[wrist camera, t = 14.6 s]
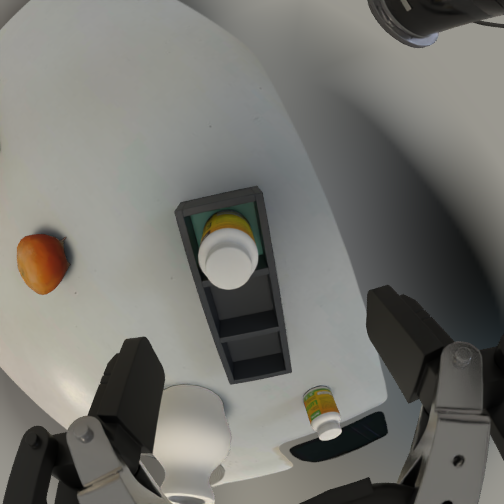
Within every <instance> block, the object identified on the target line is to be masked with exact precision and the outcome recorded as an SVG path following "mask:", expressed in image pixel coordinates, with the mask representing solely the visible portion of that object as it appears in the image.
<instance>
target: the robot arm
mask: <svg viewBox="0 0 504 504" xmlns="http://www.w3.org/2000/svg"><path fill="white" fill-rule="evenodd" d="M380 2H381V5H382V7H383V9H384V11H385V13H386V14H387V16H388V17H389V18H390V20H391V21H392V22H393V23H394V24H395V25H396V26H397V27H398V28H400V29H401V30H402V31H404V32H405V33H407V34H409V35H411V36H413V37H416V38H426V37H429V36H431V35H433V34H436V33H439V32H442V31H445V30H448V29H451V28H454V27H458V26H461V25H465V24H468V23H472V22H473V23H477V24H481V25H485V26H491V27H500V28H504V24H497V23H490V22H484V21H480V20H483V19H488V18H492V17H496V16H501V15H504V0H380ZM366 328H367V333H368V336H369V339H370V340H371V342H372V344H373V345H374V347H375V348H376V350H377V352H378V353H379V355H380V356H381V358H382V360H383V361H384V363H385V365H386V366H387V368H388V370H389V371H390V373H391V375H392V376H393V378H394V379H395V381H396V383H397V385H398V386H399V388H400V390H401V391H402V393H403V395H404V396H405V398H406V400H407V402H408V403H411V402H413V401H415V400H418V399H420V401H421V403H422V406H421V410H420V414H419V418H418V423H417V427H416V430H415V434H414V438H413V442H412V445H411V449H410V452H409V456H408V458H407V460H406V462H405V464H404V467H403V468H402V471H401V473H400V476H399V478H398V481H397V483H375V484H371V481H370V478H369V477H368V478H365V479H362V480H360V481H357V482H354V483H350V484H347V485H344V486H341V487H337V488H334V489H330V490H328V491H326V492H324V493H322V494H319V495H317V496H315V497H313V498H311V499H309V500H307V501H305V502H302V503H300V504H478V502H479V498H480V494H481V489H482V484H483V479H484V474H485V469H486V462H487V455H488V447H489V438H490V435H491V437H492V439H493V441H494V443H495V444H496V446H497V448H498V450H499V452H500V454H501V456H502V458H503V460H504V335H502V337H501V339H500V341H499V344H498V346H496V347H492V348H487V349H483V350H478V349H477V348H476V347H475V346H473V345H472V344H469V343H466V342H454V341H453V340H452V339H451V338H450V336H449V335H448V334H447V333H446V332H445V331H444V330H443V329H442V328H441V327H440V326H439V324H438V323H437V322H436V321H435V320H434V319H433V318H432V317H430V315H429V314H428V313H427V312H426V311H424V310H423V308H422V307H421V305H420V304H419V303H418V302H417V301H416V300H414V299H412V298H410V297H408V296H406V295H404V294H403V295H400V296H399V295H398V294H397V293H396V292H395V291H394V290H393V288H392V287H390V286H389V285H386V286H382V287H379V288H376V289H372V290H369V291H368V294H367V317H366ZM100 383H101V384H100V385H99V387H98V389H97V392H96V394H95V397H94V400H93V402H92V405H91V408H90V410H89V413H88V416H83V417H80V418H78V419H76V420H75V421H74V422H73V423H72V424H71V425H70V427H69V428H68V431H67V432H65V433H60V434H55V435H51V434H50V433H49V432H48V431H47V430H46V429H45V428H43V427H42V426H34V427H32V428H30V429H29V430H28V431H26V433H25V434H24V436H23V438H22V440H21V443H20V446H19V449H18V451H17V455H16V457H15V461H14V464H13V467H12V470H11V474H10V477H9V480H8V484H7V488H6V492H5V496H4V500H3V504H47V500H46V498H47V492H48V488H49V483H50V479H51V475H52V476H54V477H55V478H57V479H58V480H59V483H58V488H57V493H56V498H55V504H172V503H171V502H170V501H169V500H168V499H167V497H166V496H165V495H164V493H163V492H162V491H161V489H160V488H159V486H158V485H157V484H156V482H155V481H154V479H153V478H152V477H151V475H150V474H149V472H148V471H147V469H146V468H145V466H144V465H143V463H142V462H141V461H140V455H141V453H153V448H154V441H155V435H156V428H157V422H158V416H159V410H160V405H161V399H162V394H163V388H164V383H165V374H164V370H163V367H162V365H161V363H160V361H159V359H158V357H157V355H156V354H155V352H154V350H153V348H152V346H151V344H150V342H149V340H148V339H147V338H146V337H138V338H130V339H126V340H125V341H124V343H123V345H122V348H121V350H120V353H116V355H115V356H114V357H113V358H112V359H111V360H110V361H109V363H108V364H107V367H106V369H105V372H104V376H103V377H102V379H101V382H100Z"/></svg>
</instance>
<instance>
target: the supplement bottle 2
mask: <svg viewBox="0 0 504 504" xmlns="http://www.w3.org/2000/svg"><path fill="white" fill-rule="evenodd" d="M303 400H304V404H305V408H306V411H307V414H308V418H309V421H310V424H311V427H312V429H313V430H315V431H317V433H318V436H319V439H320V440H330V439H333V438H335V437H337V436H339V435H340V434H341V432H342V430H341V427H340V425H339V423H340V421H341V416H340V413H339V411H338V408H337V406H336V403H335V401H334V398H333V396H332V393H331V391H330V389H329V388H327V387H322V386H321V387H316V388H313V389H311V390H309V391H308V392H307V393H306V394H305V395H304V398H303Z"/></svg>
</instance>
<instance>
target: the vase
mask: <svg viewBox="0 0 504 504" xmlns="http://www.w3.org/2000/svg"><path fill="white" fill-rule="evenodd" d="M231 440H232V436H231V430H230V427H229V424H228V421H227V418H226V415H225V412H224V408H223V402H222V400H221V399H220V397H219V396H218V395H217V394H215V393H214V392H212V391H211V390H209V389H206V388H203V387H200V386H195V385H184V384H183V385H177V386H171V387H169V388H167V389H165V390H164V391H163V394H162V399H161V405H160V410H159V416H158V422H157V428H156V435H155V441H154V448H153V453H152V454H153V455H154V456H155V458H156V459H157V460H158V461H159V462H160V463H161V465H162V466H163V468H164V470H165V479H164V482H163V483H162V485H161V487H160V489H161V491H162V492H163V493H164V495H165V496H166V497H167V499H168V500H169V501H170V502H171V503H172V504H214V502H215V497H214V493H213V491H212V488H211V486H210V483H209V477H210V475H211V473H212V472H213V471H214V470H215V468H216V467H218V466H219V465H220V464H221V463H222V462H223V461H224V460H225V459H226V458H227V456H228V454H229V451H230V447H231Z"/></svg>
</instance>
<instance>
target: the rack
mask: <svg viewBox="0 0 504 504" xmlns="http://www.w3.org/2000/svg"><path fill="white" fill-rule="evenodd" d="M222 210H233V211H236V212H239V213H240V214H242V215H243V216H244V217H245V218H246V219H247V220H248V222H249V224H250V227H251V230H252V233H253V236H254V240H255V243H256V246H257V250H258V263H257V266H256V269H255V270H254V272H253V273H252V275H251V276H250V278H249V279H248V281H247V282H246V283H245V284H244V285H242V286H241V287H239V288H236V289H231V290H227V289H221V288H218V287H216V286H215V285H213V284H212V283H211V282H210V281H209V279H208V277H207V276H206V275H205V274H204V273H203V271H202V269H201V267H200V265H199V260H198V253H199V248H200V243H201V239H202V234H203V230H204V226H205V224H206V222H207V220H208V219H209V218H210V217H211V216H212V215H213V214H215V213H216V212H219V211H222ZM175 216H176V220H177V223H178V227H179V231H180V234H181V238H182V241H183V245H184V248H185V252H186V255H187V259H188V262H189V265H190V269H191V272H192V275H193V279H194V282H195V285H196V288H197V291H198V294H199V298H200V301H201V304H202V307H203V310H204V313H205V316H206V319H207V322H208V325H209V328H210V331H211V333H212V336H213V339H214V342H215V345H216V348H217V350H218V353H219V356H220V359H221V361H222V364H223V367H224V370H225V372H226V375H227V377H228V380H229V383H230V385H231V384H235V383H236V384H237V383H243V382H249V381H254V380H259V379H264V378H269V377H274V376H278V375H283V374H286V373H292V369H291V362H290V355H289V349H288V342H287V336H286V329H285V323H284V316H283V310H282V304H281V297H280V291H279V285H278V279H277V273H276V267H275V261H274V255H273V249H272V243H271V237H270V232H269V226H268V220H267V215H266V209H265V203H264V198H263V193H262V191H261V190H260V189H259V187H258V186H254V187H249V188H244V189H239V190H234V191H230V192H225V193H220V194H216V195H211V196H207V197H202V198H198V199H194V200H190V201H185V202H181V203H180V204H179V206H178V207H177V209H176V210H175Z"/></svg>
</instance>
